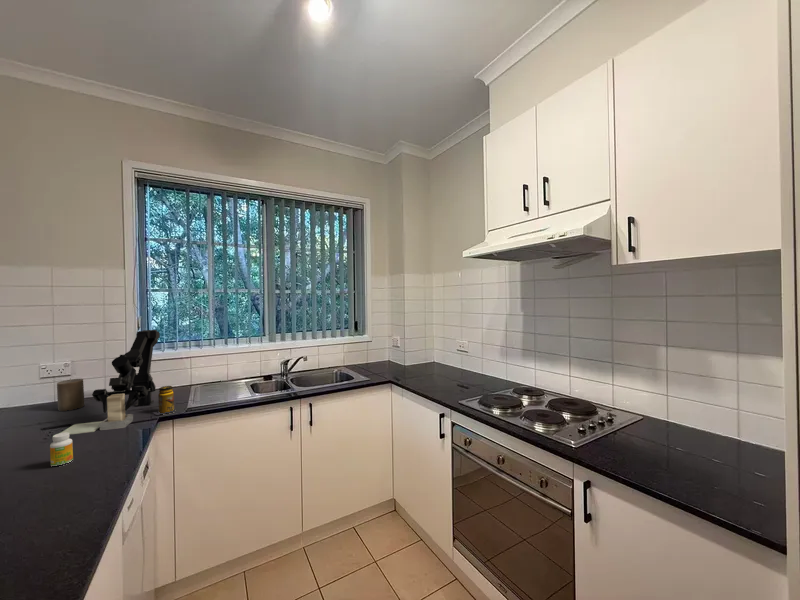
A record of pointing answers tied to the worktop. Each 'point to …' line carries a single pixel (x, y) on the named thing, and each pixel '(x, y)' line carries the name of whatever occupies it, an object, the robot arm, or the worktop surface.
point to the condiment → (166, 399)
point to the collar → (116, 423)
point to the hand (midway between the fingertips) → (115, 411)
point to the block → (116, 407)
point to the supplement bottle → (61, 449)
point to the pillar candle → (70, 394)
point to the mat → (83, 428)
